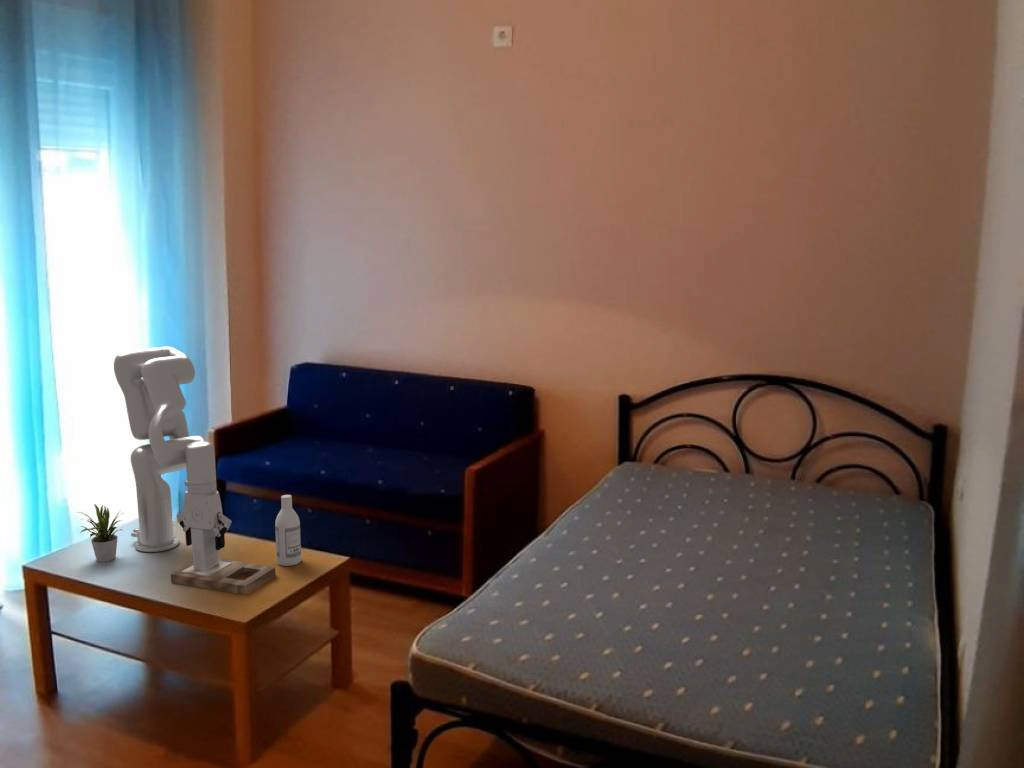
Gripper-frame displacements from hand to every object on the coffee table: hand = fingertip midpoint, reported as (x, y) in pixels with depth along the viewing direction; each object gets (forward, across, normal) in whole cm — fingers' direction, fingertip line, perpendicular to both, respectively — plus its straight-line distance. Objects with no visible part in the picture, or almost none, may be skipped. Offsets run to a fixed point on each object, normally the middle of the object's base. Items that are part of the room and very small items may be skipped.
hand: (205, 546), depth 257 cm
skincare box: (+6, 0, 0) cm, 6 cm away
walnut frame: (+9, +6, 0) cm, 10 cm away
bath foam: (+9, +16, +17) cm, 25 cm away
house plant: (+9, -38, +1) cm, 39 cm away
